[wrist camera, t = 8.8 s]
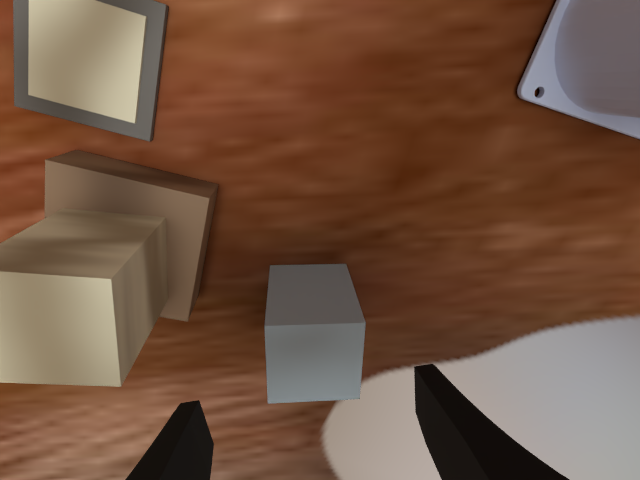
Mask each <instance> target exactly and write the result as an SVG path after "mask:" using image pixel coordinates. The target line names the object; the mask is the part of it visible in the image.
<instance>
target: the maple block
mask: <svg viewBox="0 0 640 480" xmlns="http://www.w3.org/2000/svg"><path fill="white" fill-rule="evenodd" d="M167 301H168V282H167V245H166V218H164V217H153V216H142V215H131V214H120V213H109V212H98V211H87V210H76V209H65V208H63V209H61V210H59V211H57V212H55V213H54V214H52V215H50V216H48V217H47V218H45V219H43V220H41V221H39V222H38V223H36V224H34V225H32V226H31V227H29V228H27V229H25V230H23V231H22V232H20V233H18V234H16V235H15V236H13V237H11V238H9V239H7V240H6V241H4V242H2V243H0V382H3V383H32V384H61V385H90V386H119V387H121V386H122V384H123V382H124V380H125V378H126V376H127V374H128V373H129V371H130V369H131V367H132V365H133V363H134V362H135V360H136V358H137V356H138V354H139V352H140V350H141V349H142V347H143V345H144V343H145V341H146V339H147V338H148V336H149V334H150V332H151V330H152V328H153V326H154V325H155V323H156V321H157V319H158V317H159V315H160V314H161V312H162V310H163V308H164V306H165V304H166V302H167Z"/></svg>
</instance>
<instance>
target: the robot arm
mask: <svg viewBox="0 0 640 480" xmlns="http://www.w3.org/2000/svg"><path fill="white" fill-rule="evenodd" d="M537 88H539V90H540V92H539V95H538V96H537V97H535V95H534V92H535V90H536V89H537ZM517 94H518V96H519V98H521V99H523V100H526V101H528V102H531V103H534V104H537V105H540V106H543V107H546V108H549V109H552V110H555V111H558V112H561V113H564V114H567V115H570V116H572V117H575V118H578V119H581V120H584V121H587V122H590V123H593V124H596V125H599V126H602V127H605V128H608V129H611V130H614V131H616V132H619V133H622V134H625V135H628V136H631V137H634V138H637V139H640V0H556V3H555V5H554V7H553V9H552V12H551V14H550V16H549V18H548V21H547V23H546V25H545V27H544V30H543V32H542V34H541V36H540V39H539V41H538V43H537V45H536V48H535V50H534V52H533V54H532V57H531V59H530V61H529V63H528V66H527V68H526V70H525V72H524V75H523V77H522V79H521V81H520V84H519V86H518V89H517ZM414 372H415V404H416V414H417V418H418V421H419V424H420V427H421V430H422V433H423V436H424V439H425V442H426V445H427V447H428V449H429V452H430V454H431V456H432V458H433V461H434V463H435V465H436V468H437V470H438V472H439V474H440V477H441V479H442V480H569V479H568V478H566V477H565V476H563V475H561V474H559V473H558V472H557V471H555V470H554V469H553V468H551V467H549V466H548V465H547V464H545V463H544V462H543V461H541V460H540V459H538V458H537V457H536V456H534V455H533V454H532V453H530V452H529V451H528V450H526V449H525V448H524V447H522V446H521V445H520V444H518V443H517V442H516V441H515V440H513V439H512V438H511V437H510V436H508V435H507V434H506V433H505V432H504V431H503V430H501V429H500V428H499V427H498V426H497V425H495V424H494V423H493V422H492V421H491V420H490V419H488V418H487V417H486V416H485V415H484V414H483V413H482V412H481V411H480V410H479V409H477V408H476V407H475V406H474V405H473V404H472V403H471V402H470V401H469V400H468V399H467V398H466V397H465V396H464V395H463V394H462V393H461V392H460V391H459V390H458V389H457V388H456V387H455V386H454V385H453V384H452V383H451V382H450V381H449V380H448V379H447V378H446V377H445V376H444V375H443V374H442V373H441V372H440V371H439V369H438V368H437V367H436V366H434V365H433V364H428V365H422V366H416V367H414ZM213 446H214V443H213V440H212V437H211V434H210V431H209V428H208V425H207V422H206V419H205V416H204V413H203V410H202V407H201V404H200V401H199V400H198V401H192V402H185V403H180V405H179V406H178V407H177V409H176V410H175V412H174V413H173V414H172V416H171V417H170V419H169V420H168V422H167V423H166V425H165V426H164V427H163V429H162V430H161V432H160V433H159V435H158V436H157V438H156V439H155V440H154V442H153V443H152V445H151V446H150V447H149V449H148V450H147V451H146V453H145V454H144V456H143V457H142V458H141V460H140V461H139V462H138V464H137V465H136V467H135V468H134V469H133V471H132V472H131V473H130V474H129V476H128V477H127V478H126V479H125V480H210V474H211V466H212V456H213Z"/></svg>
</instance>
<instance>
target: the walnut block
mask: <svg viewBox="0 0 640 480" xmlns="http://www.w3.org/2000/svg"><path fill="white" fill-rule="evenodd" d="M218 185H219V184H216V183H212V182H207V181H203V180H199V179H195V178H191V177H187V176H183V175H179V174H174V173H170V172H166V171H162V170H158V169H154V168H150V167H146V166H142V165H137V164H133V163H129V162H125V161H121V160H117V159H113V158H109V157H105V156H100V155H96V154H92V153H88V152H84V151H80V150H74V151H71V152H68V153H65V154H62V155H59V156H56V157H53V158H49V159H46V160H45V218H47V217H48V216H50V215H52V214H54V213H55V212H57V211H59V210H61V209H63V208H65V209H76V210H87V211H98V212H109V213H120V214H131V215H142V216H153V217H164V218H166V245H167V282H168V301H167V302H166V304H165V306H164V308H163V310H162V312H161V314H160V315H159V317H165V318H171V319H176V320H182V321H188V320H189V317H190V315H191V312H192V310H193V307H194V305H195V302H196V300H197V298H198V294H199V289H200V283H201V278H202V272H203V267H204V262H205V256H206V251H207V245H208V240H209V234H210V229H211V223H212V218H213V212H214V207H215V201H216V196H217V190H218Z"/></svg>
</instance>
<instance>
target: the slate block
mask: <svg viewBox="0 0 640 480" xmlns="http://www.w3.org/2000/svg"><path fill="white" fill-rule="evenodd" d="M365 324H366V322H365V319H364V316H363V313H362V310H361V307H360V304H359V301H358V298H357V295H356V292H355V289H354V286H353V283H352V280H351V277H350V274H349V271H348V268H347V265H346V264H312V265H270V272H269V282H268V293H267V304H266V315H265V326H264V327H265V349H266V371H267V394H268V403H287V402H308V401H328V400H348V399H360V387H361V374H362V362H363V349H364V337H365Z"/></svg>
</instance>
